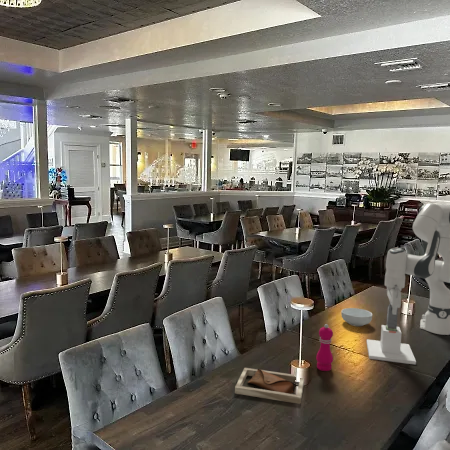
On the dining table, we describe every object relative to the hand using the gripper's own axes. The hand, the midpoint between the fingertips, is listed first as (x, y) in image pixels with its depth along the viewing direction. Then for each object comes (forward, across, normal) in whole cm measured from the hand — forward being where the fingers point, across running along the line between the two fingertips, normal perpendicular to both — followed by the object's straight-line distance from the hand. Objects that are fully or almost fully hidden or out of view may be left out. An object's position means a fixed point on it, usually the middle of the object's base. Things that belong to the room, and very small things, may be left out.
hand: (392, 310), depth 196 cm
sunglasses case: (+20, -50, +50) cm, 74 cm away
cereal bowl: (+21, +36, +14) cm, 44 cm away
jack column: (+14, 0, 0) cm, 14 cm away
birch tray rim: (+20, -50, +50) cm, 74 cm away
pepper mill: (+21, -26, +30) cm, 45 cm away
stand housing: (+21, 0, 0) cm, 21 cm away
